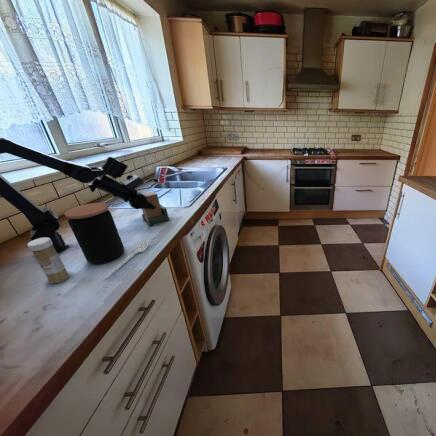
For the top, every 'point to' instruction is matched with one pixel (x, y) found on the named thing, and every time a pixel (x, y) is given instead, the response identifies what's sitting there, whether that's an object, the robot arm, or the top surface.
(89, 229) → the coffee jar
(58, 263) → the sprinkles bottle
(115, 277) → the top surface
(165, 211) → the cradle
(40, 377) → the top surface
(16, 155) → the robot arm
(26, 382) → the top surface
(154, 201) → the brown box
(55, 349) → the top surface
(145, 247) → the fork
